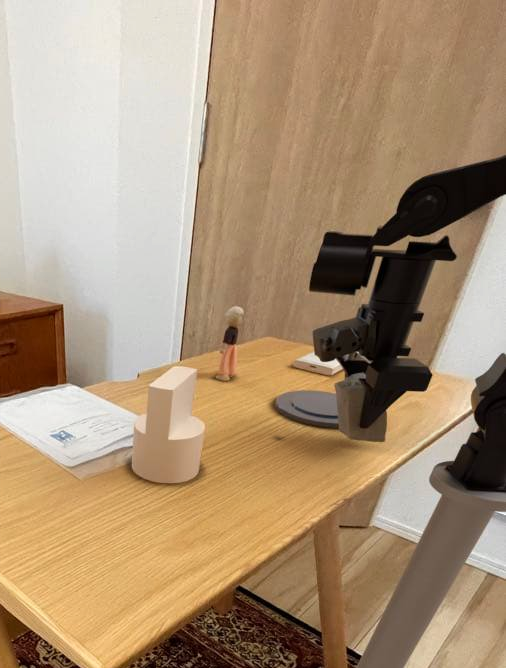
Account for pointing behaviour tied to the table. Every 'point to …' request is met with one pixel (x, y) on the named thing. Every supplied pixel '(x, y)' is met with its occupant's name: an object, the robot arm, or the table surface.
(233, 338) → the grandmother figurine
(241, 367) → the table surface
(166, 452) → the base with upright slab
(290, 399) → the plate
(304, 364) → the hard drive
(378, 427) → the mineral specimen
